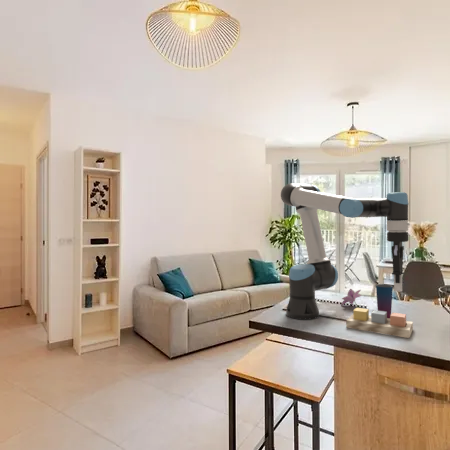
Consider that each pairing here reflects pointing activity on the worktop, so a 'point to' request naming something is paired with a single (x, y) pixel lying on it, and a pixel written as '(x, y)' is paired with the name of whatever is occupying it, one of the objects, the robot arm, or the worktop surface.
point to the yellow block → (361, 314)
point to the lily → (351, 297)
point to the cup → (384, 298)
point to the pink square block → (398, 319)
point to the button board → (380, 327)
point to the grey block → (379, 316)
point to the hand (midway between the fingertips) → (398, 290)
